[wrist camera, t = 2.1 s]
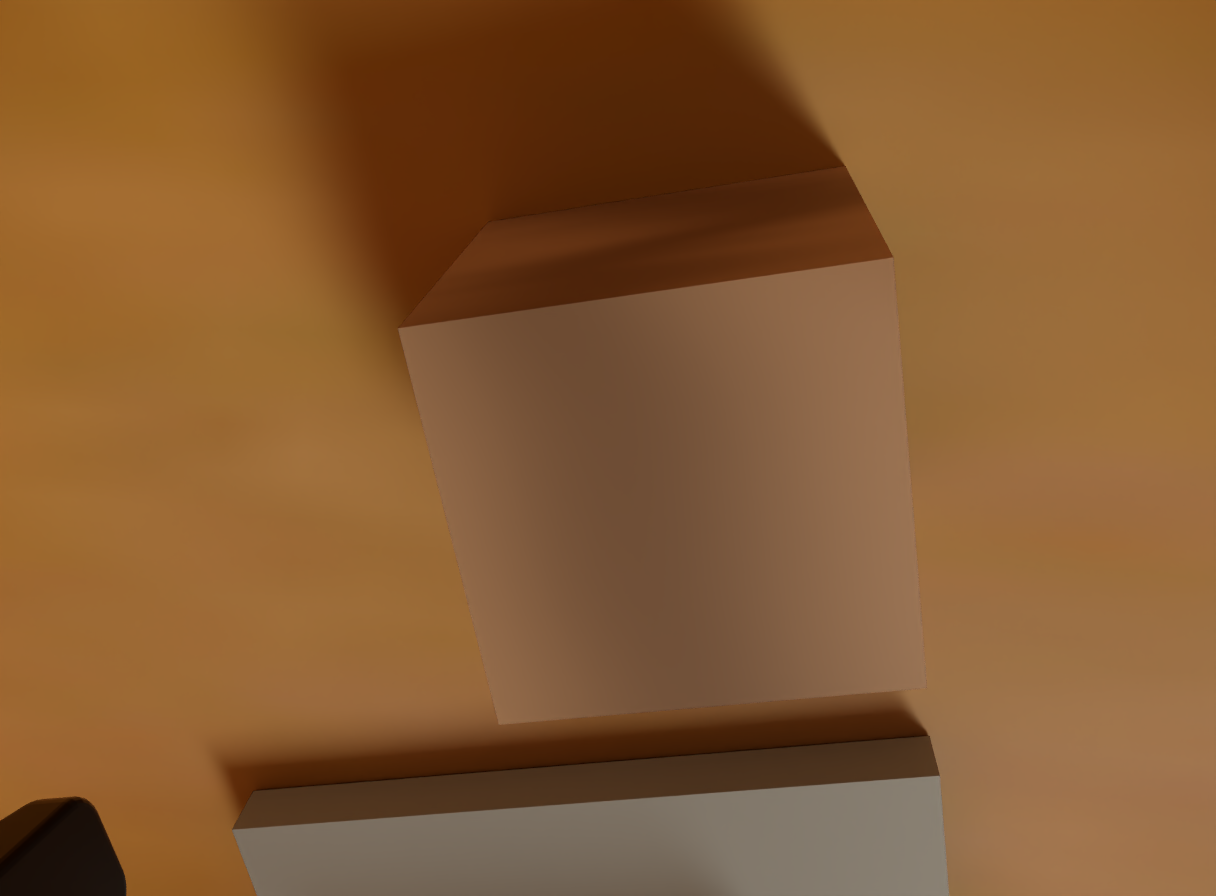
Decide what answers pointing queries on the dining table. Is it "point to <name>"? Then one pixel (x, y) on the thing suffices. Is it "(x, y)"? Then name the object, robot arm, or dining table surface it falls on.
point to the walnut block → (676, 450)
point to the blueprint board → (617, 828)
